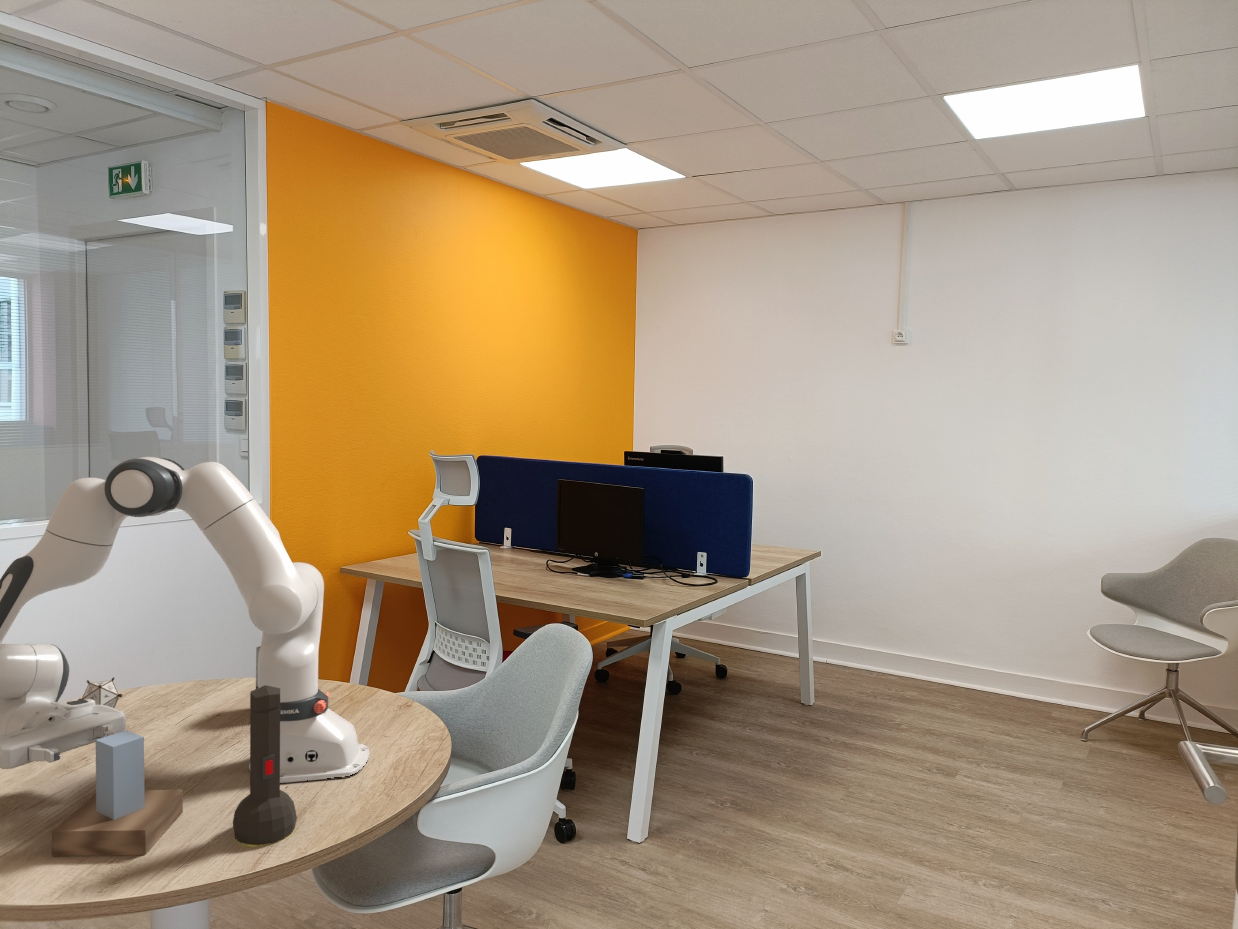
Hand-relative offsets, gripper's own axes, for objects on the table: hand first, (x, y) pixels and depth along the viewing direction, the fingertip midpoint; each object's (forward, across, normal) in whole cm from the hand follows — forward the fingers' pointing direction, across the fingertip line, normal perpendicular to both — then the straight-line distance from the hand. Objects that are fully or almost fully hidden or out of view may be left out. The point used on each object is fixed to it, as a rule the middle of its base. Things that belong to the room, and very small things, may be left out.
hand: (85, 747), depth 145 cm
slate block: (+10, 0, +8) cm, 13 cm away
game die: (-44, +27, +12) cm, 53 cm away
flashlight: (+29, +13, +12) cm, 34 cm away
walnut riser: (+10, 0, +12) cm, 16 cm away
